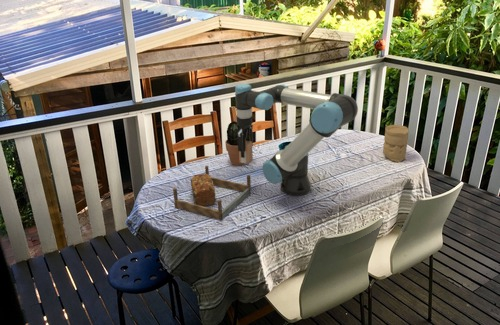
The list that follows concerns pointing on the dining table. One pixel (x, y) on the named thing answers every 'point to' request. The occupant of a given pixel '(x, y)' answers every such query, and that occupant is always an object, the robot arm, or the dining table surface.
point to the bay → (218, 213)
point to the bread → (203, 190)
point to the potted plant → (233, 143)
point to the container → (395, 142)
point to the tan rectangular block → (247, 152)
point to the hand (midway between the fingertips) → (246, 160)
